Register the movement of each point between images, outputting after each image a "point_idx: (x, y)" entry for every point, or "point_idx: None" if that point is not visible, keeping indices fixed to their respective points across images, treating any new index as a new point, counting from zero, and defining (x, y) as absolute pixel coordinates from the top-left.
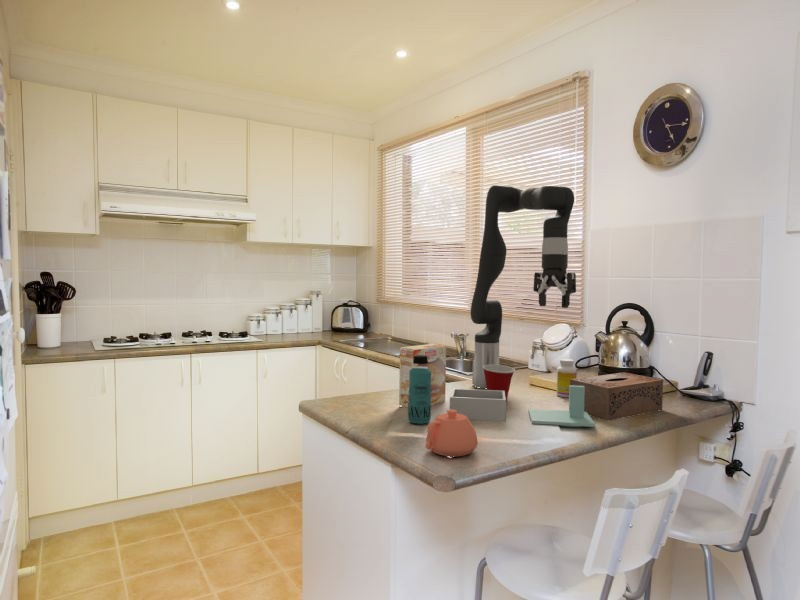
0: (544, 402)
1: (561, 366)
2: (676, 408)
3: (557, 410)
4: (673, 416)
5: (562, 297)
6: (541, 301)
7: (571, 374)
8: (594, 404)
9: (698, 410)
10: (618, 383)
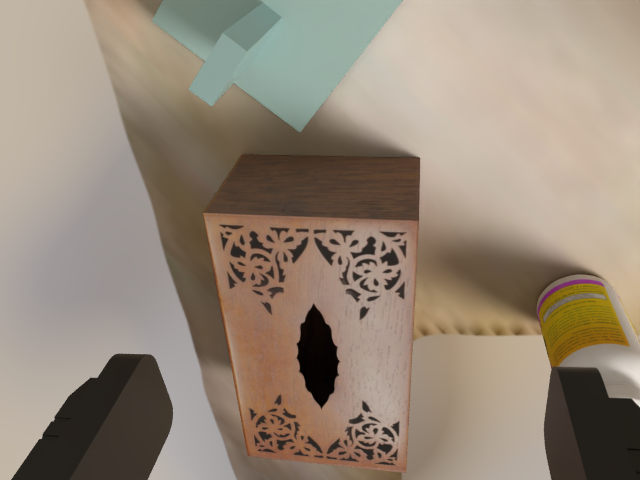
0: (564, 156)
1: (623, 375)
2: None
3: (369, 40)
4: (209, 347)
5: (59, 474)
6: (569, 424)
7: (558, 358)
8: (289, 176)
9: (232, 434)
10: (259, 311)
